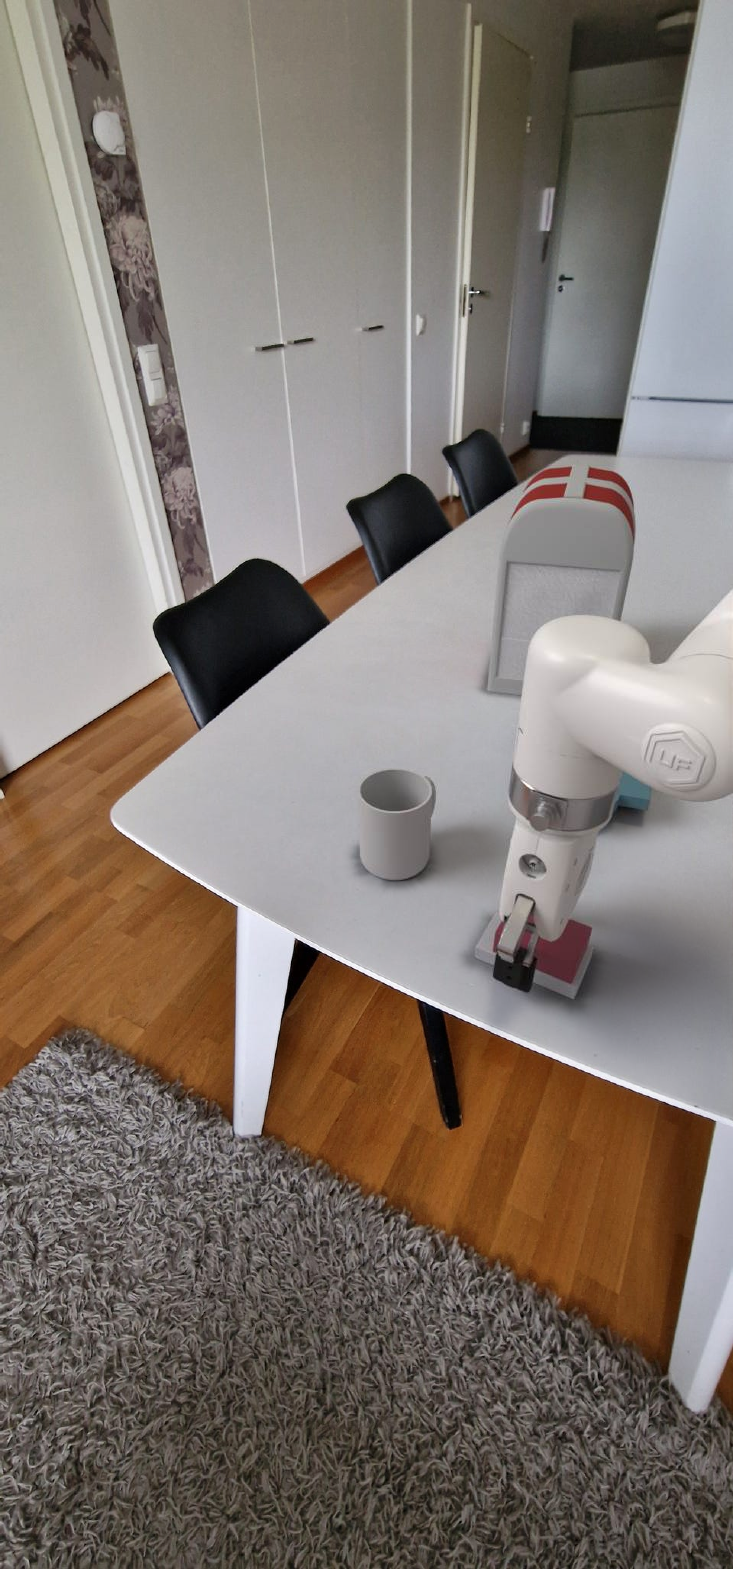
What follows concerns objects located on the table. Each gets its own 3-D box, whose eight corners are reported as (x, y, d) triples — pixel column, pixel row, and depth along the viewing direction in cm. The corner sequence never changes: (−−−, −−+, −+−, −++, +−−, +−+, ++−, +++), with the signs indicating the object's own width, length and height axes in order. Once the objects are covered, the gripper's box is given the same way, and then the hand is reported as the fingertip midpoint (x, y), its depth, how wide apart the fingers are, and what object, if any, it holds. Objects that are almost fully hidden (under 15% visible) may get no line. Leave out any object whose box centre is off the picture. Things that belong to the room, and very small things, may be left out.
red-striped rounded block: (484, 691, 100) (502, 493, 84) (502, 639, 114) (520, 460, 98) (605, 706, 96) (647, 501, 80) (608, 650, 110) (645, 465, 94)
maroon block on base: (591, 958, 62) (599, 927, 60) (573, 999, 59) (581, 969, 56) (495, 920, 66) (499, 890, 63) (474, 957, 62) (477, 927, 60)
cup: (345, 861, 73) (341, 793, 67) (405, 813, 79) (406, 747, 73) (400, 893, 69) (400, 823, 64) (458, 840, 75) (463, 773, 70)
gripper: (577, 880, 43) (539, 1039, 54) (643, 744, 55) (602, 896, 66) (465, 840, 47) (450, 998, 57) (551, 719, 58) (525, 868, 69)
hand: (532, 943), depth 61 cm, fingers open, 9 cm apart
